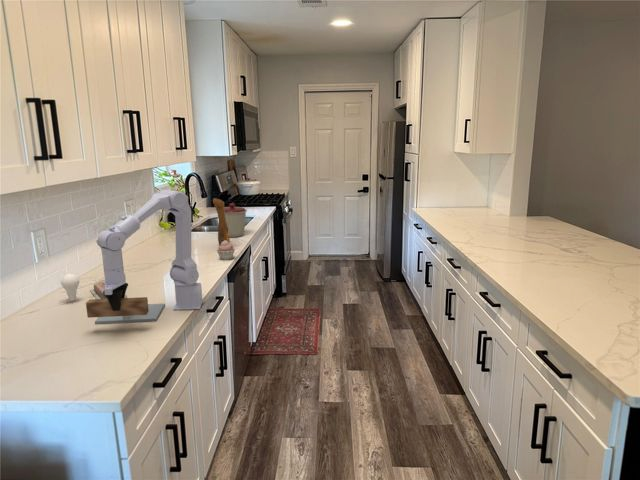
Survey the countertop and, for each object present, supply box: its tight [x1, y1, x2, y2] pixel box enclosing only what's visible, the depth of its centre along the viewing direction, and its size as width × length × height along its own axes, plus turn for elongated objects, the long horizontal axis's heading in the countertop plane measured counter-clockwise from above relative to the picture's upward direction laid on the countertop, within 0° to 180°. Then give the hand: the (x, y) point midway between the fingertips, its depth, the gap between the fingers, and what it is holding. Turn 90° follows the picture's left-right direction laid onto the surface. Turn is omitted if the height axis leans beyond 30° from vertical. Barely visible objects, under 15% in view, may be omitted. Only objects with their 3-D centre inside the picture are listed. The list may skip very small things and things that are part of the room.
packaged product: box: [89, 279, 128, 299], centre depth 174 cm, size 18×5×10 cm
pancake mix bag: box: [212, 197, 231, 247], centre depth 247 cm, size 7×19×28 cm, turn 22°
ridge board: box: [94, 303, 166, 325], centre depth 155 cm, size 20×14×4 cm
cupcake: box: [216, 240, 236, 261], centre depth 226 cm, size 9×9×10 cm
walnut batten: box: [85, 296, 149, 318], centre depth 141 cm, size 18×3×5 cm, turn 98°
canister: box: [224, 202, 248, 238], centre depth 276 cm, size 18×18×21 cm
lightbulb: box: [60, 273, 80, 302], centre depth 167 cm, size 6×6×11 cm
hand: (118, 308), depth 142 cm, fingers closed on walnut batten, 3 cm apart
